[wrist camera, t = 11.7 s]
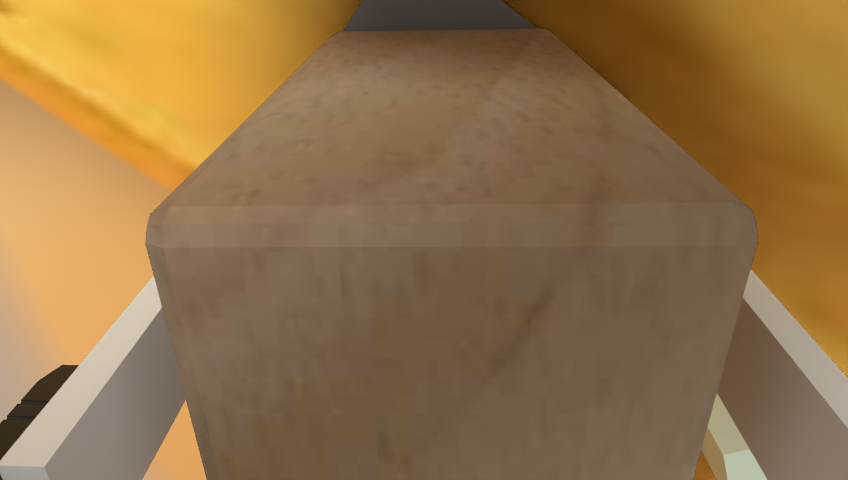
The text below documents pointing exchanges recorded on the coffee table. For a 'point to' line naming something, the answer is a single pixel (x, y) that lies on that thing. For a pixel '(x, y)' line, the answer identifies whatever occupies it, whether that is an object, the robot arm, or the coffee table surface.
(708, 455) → the sage cube
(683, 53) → the coffee table surface
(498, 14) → the slate mat
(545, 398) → the wooden block
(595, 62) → the coffee table surface
